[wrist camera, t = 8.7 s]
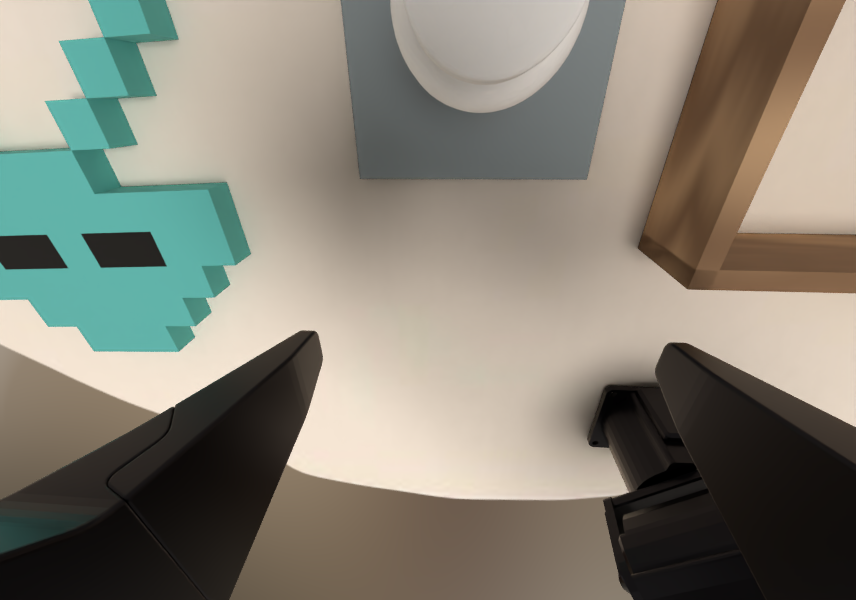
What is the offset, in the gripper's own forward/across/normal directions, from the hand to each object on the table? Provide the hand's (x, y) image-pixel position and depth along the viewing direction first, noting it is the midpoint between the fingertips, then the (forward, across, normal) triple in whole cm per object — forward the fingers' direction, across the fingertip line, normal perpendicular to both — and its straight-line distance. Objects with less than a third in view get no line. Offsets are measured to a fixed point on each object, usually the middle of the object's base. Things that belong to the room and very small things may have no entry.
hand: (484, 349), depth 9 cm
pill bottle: (+12, 0, -8) cm, 15 cm away
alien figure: (+13, +24, 0) cm, 27 cm away
